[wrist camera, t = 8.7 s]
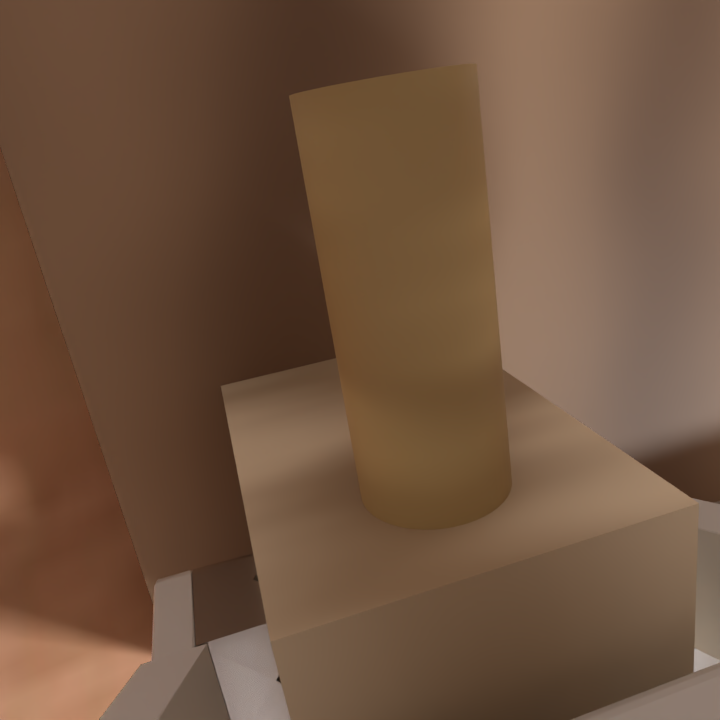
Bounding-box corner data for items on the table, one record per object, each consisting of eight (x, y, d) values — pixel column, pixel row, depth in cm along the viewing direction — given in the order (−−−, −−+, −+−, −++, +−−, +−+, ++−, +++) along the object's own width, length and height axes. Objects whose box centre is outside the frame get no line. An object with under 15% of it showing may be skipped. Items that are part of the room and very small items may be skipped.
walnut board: (1063, -161, 14) (1421, -281, 10) (950, 418, 19) (1159, 493, 15) (-35, -52, 10) (-179, -188, 6) (194, 664, 15) (204, 863, 11)
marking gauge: (419, 87, 10) (713, 19, 5) (473, 563, 13) (687, 862, 8) (156, 129, 9) (131, 109, 4) (280, 625, 12) (365, 1005, 7)
